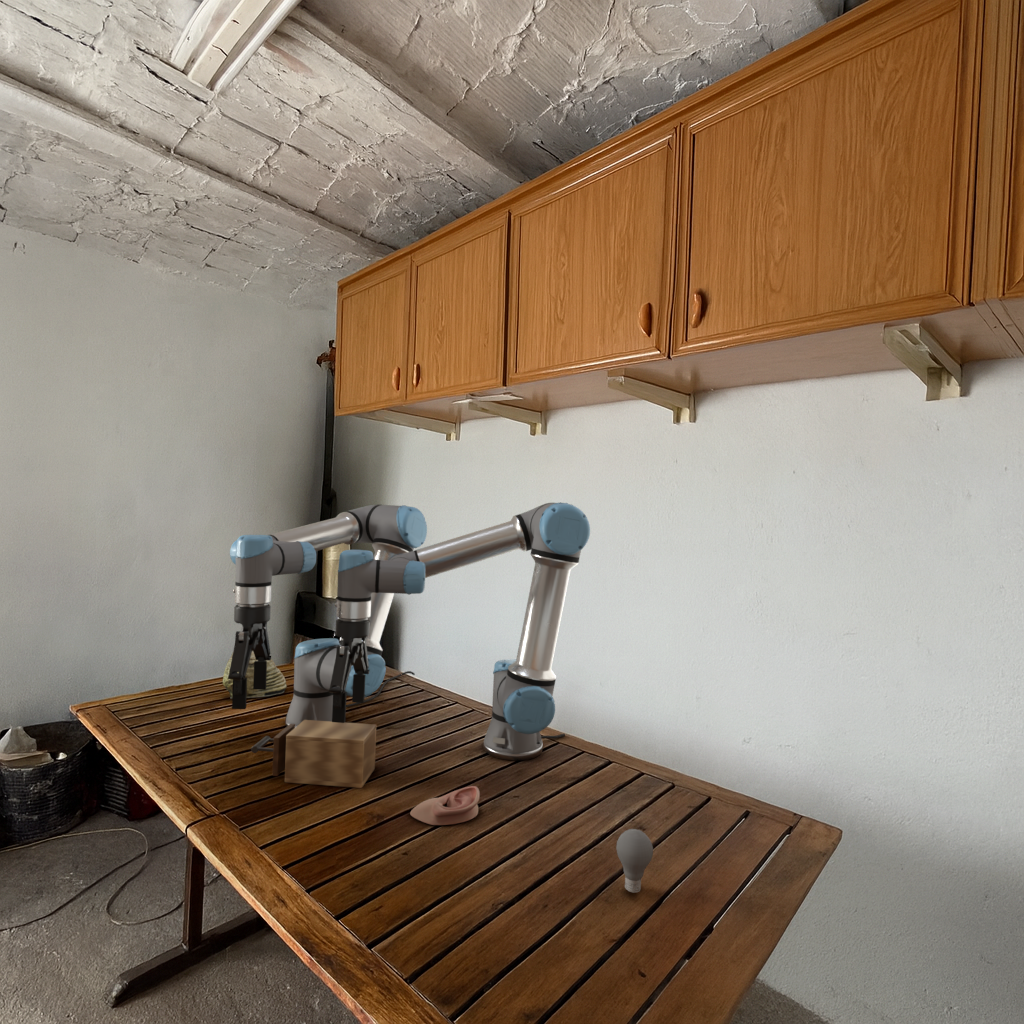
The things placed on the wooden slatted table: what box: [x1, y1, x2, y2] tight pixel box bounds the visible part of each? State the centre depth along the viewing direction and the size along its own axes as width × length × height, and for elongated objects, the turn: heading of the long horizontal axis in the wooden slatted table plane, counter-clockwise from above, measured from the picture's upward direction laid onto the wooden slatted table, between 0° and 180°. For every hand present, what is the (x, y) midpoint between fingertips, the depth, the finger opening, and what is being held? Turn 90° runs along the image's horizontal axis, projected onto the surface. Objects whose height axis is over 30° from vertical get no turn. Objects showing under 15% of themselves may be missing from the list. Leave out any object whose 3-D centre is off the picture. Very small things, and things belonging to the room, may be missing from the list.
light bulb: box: [615, 828, 654, 894], centre depth 106 cm, size 6×6×10 cm
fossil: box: [222, 651, 288, 699], centre depth 198 cm, size 9×18×15 cm, turn 132°
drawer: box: [250, 724, 295, 777], centre depth 144 cm, size 22×9×9 cm, turn 86°
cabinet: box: [284, 720, 377, 789], centre depth 144 cm, size 17×10×10 cm, turn 86°
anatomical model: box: [409, 785, 481, 826], centre depth 129 cm, size 13×4×12 cm
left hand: (249, 698), depth 142 cm, fingers open, 13 cm apart
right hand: (348, 711), depth 144 cm, fingers open, 13 cm apart
